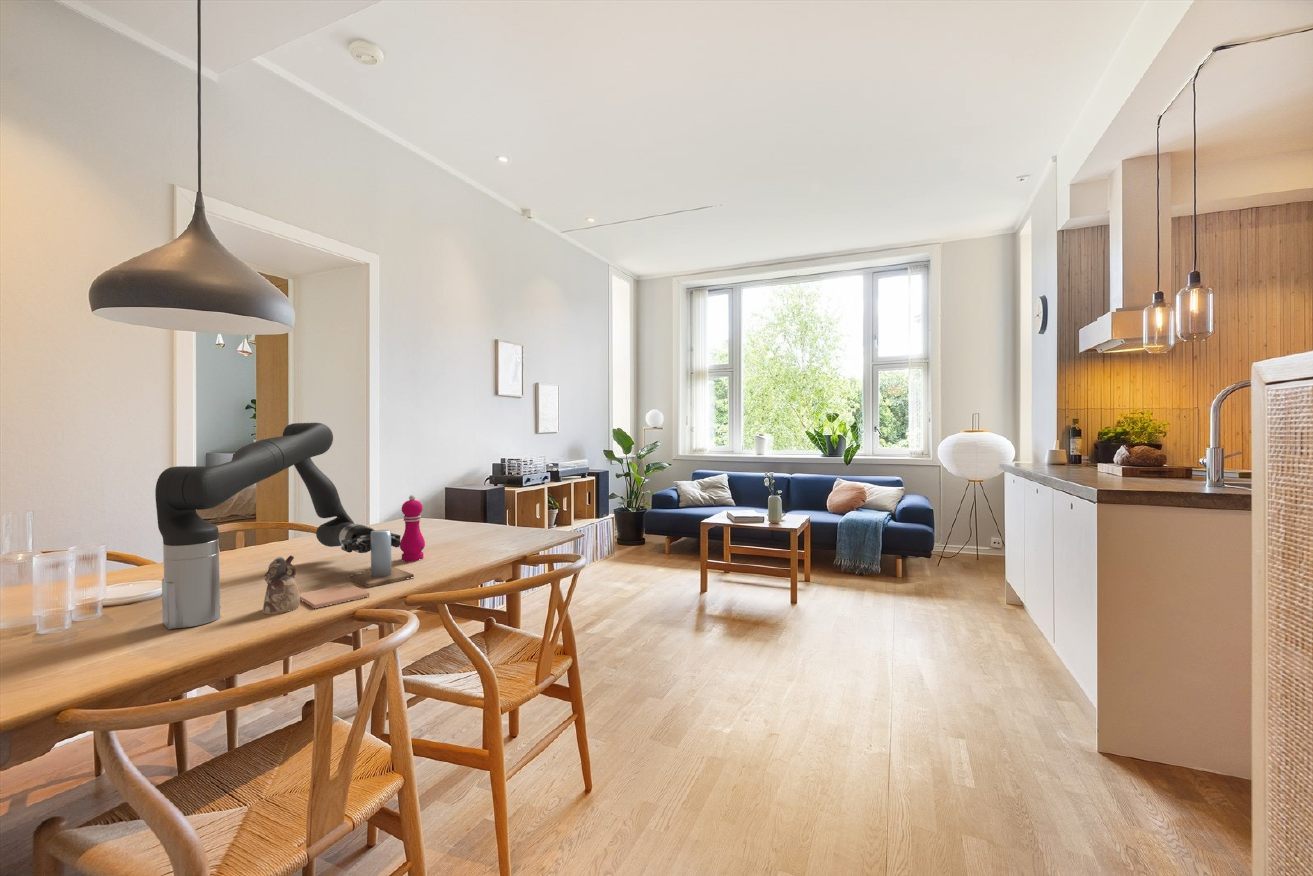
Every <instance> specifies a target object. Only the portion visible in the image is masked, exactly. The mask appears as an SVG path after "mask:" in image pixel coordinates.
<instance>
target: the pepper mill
mask: <svg viewBox="0 0 1313 876" xmlns="http://www.w3.org/2000/svg"><path fill="white" fill-rule="evenodd" d="M423 509H424V507H423V504H422V502H421V501H419V500H417V499H416V496H415V495H414V494H410V496H409V497H408V500H406V501H405V502H404V503H402V505H401V513H402V514H403V515H404V516H403V521H404V527H405V528H404V532H403V534H402V537H401V538H400V542H401V544H400V546H399V549H400V550H401V552H403V553H401V561H402V560H403V562H416V561H415V560H418V561H420V560H419V559H422V560H423V559H424V555H425V554H424V552H423V550H424V549H425V546H426V540H425V538H424V536H423V534H422V531H421V529H420V521H421V520H422V515H421V513H422V512H423Z"/></svg>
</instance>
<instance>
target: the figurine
mask: <svg viewBox="0 0 1313 876" xmlns="http://www.w3.org/2000/svg"><path fill="white" fill-rule="evenodd" d="M294 559H295V556H293V555H292V554H291V555H289V556H288V557H287V558H286V559H285V558H284V557H282V556H278V557H276V558H274V559H273V560H272V561H271V562H270V563H269V565H268V569H267V571H266V572H265V574H264V576H265V577H264V581H265V582H266V584H267V586H266V589H265V590H266V591H265V596H264V600H263V606H262V614H265V613H267V614H266V615H279V614H278V613H280V614H284V613H283V612H286V613H288V612H287V611H289V610H292V609H295V610H297V609H298V608H299V607H300V604H301V603H300V601H301V600H300V597H299V594H300V591H299V588H298V584H297V582H296V579H295V576H296V573H297V572H296V567H295V566H294V564H293V563H292V562H293V561H294ZM289 570H291V571H292V572H291V573H290V574H288V573H287V572H288V571H289ZM298 606H299V607H298ZM297 607H298V608H297ZM296 608H297V609H296ZM292 611H293V610H292ZM289 612H290V611H289Z"/></svg>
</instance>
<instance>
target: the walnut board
mask: <svg viewBox="0 0 1313 876" xmlns="http://www.w3.org/2000/svg"><path fill="white" fill-rule="evenodd" d="M414 576H415V575H414V574H413V573H410V572H408V571H405V570H403V569H400V568H398V567H394V566H391V575H390V576H387V577H380V578H374V577H371V571H367V572H362V573H360V572H359V573H356V574H352V575H351V574H350V575H349V580H350V579H351V580H350V581H352V580H353V582H354V581H355V582H354V583H357V582H358V583H357V584H359V583H360V584H359V585H361V584H362V585H361V586H363V585H364V586H363V587H365V586H367V587H366V588H368V587H370V588H372V587H371V586H375V587H378V586H377V585H379V586H382V585H381V584H384V585H386V584H385V583H389V582H393V583H397V582H396V581H398V582H401V581H400V580H403V581H405V580H404V579H407V578H411V577H414ZM414 578H415V577H414ZM407 580H408V579H407ZM389 584H390V583H389Z"/></svg>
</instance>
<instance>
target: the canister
mask: <svg viewBox="0 0 1313 876" xmlns="http://www.w3.org/2000/svg"><path fill="white" fill-rule="evenodd" d="M374 530H375V531H371V550H370V572H371V577H374V578H380V577H387V576H390V575H391V567H392V546H391V533H392V530H391V529H374Z"/></svg>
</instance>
